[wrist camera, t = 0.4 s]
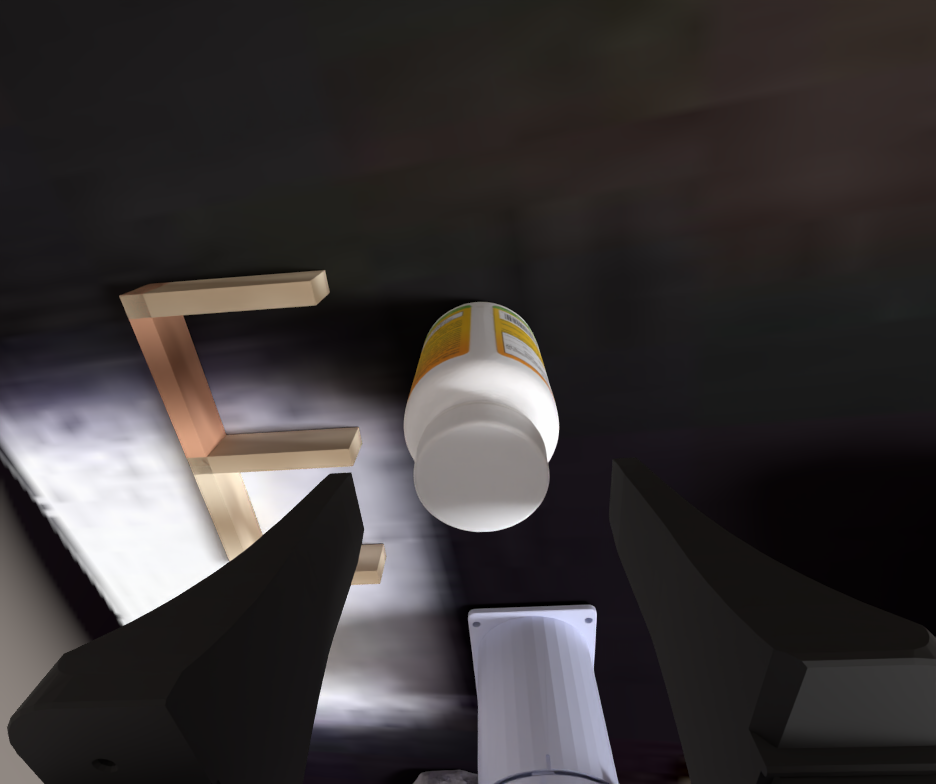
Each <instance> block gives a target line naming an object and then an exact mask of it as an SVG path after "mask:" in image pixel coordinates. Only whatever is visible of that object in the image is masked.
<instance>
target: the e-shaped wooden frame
mask: <svg viewBox="0 0 936 784" xmlns="http://www.w3.org/2000/svg"><path fill="white" fill-rule="evenodd" d="M329 293H330V291H329V287H328V282H327V277H326V273H325V270H320V271H307V272H294V273H281V274H269V275H256V276H243V277H231V278H218V279H205V280H193V281H180V282H167V283H154V284H148V285H145V286H143V287H140V288H138V289H135V290H133V291H130V292H128V293H125V294H123V295H120V296H119V297H120V299H121V302H122V304H123V306H124V309H125V311H126V314H127V316H128V318H129V321H130V323H131V326H132V328H133V330H134V333H135V335H136V338H137V340H138V342H139V345H140V347H141V350H142V352H143V354H144V357H145V359H146V362H147V364H148V366H149V369H150V371H151V374H152V376H153V378H154V381H155V383H156V386H157V388H158V390H159V393H160V395H161V398H162V400H163V402H164V405H165V407H166V410H167V412H168V414H169V417H170V419H171V422H172V424H173V426H174V429H175V431H176V434H177V436H178V438H179V441H180V443H181V446H182V448H183V450H184V453H185V455H186V458H187V460H188V462H189V465H190V467H191V470H192V472H193V474H194V477H195V479H196V482H197V484H198V486H199V489H200V491H201V494H202V496H203V499H204V501H205V503H206V506H207V508H208V511H209V513H210V515H211V518H212V520H213V523H214V525H215V527H216V530H217V532H218V535H219V537H220V539H221V542H222V544H223V547H224V549H225V551H226V554H227V556H228V559H229V561H231V560H233V559H234V558H235V557H237V556H238V555H239V554H241V553H242V552H243V551H245V550H246V549H247V548H248V547H250V546H251V545H252V544H253V543H254V542H256V541H257V540H258V539H259V538H260V537H261V536H263V535H262V532H261V529H260V527H259V524H258V521H257V518H256V515H255V513H254V510H253V507H252V504H251V502H250V499H249V496H248V493H247V491H246V488H245V485H244V482H243V480H242V477H241V474H240V472H255V471H273V470H292V469H310V468H328V467H346V466H353V465H354V462H355V460H356V457H357V455H358V452H359V450H360V448H361V445H362V441H361V436H360V431H359V427H353V428H336V429H319V430H302V431H285V432H269V433H252V434H235V435H226V433H225V430H224V427H223V424H222V422H221V419H220V416H219V413H218V411H217V408H216V405H215V402H214V399H213V397H212V394H211V391H210V388H209V386H208V383H207V380H206V377H205V375H204V372H203V369H202V366H201V364H200V361H199V358H198V355H197V352H196V350H195V347H194V344H193V341H192V339H191V336H190V333H189V330H188V328H187V325H186V322H185V319H184V317H183V315H193V314H207V313H220V312H234V311H247V310H260V309H274V308H287V307H301V306H314V305H317V304H318V303H319V302H320V301H321V300H322V299H323V298H324V297H326V296H327V295H328V294H329ZM385 560H386V553H385V548H384V544H373V545H361V550H360V555H359V560H358V564H357V567H356V570H355V574H354V577H353V580H352V583H351V585H360V584H380V582H381V577H382V573H383V569H384V564H385Z"/></svg>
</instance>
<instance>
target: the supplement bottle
mask: <svg viewBox="0 0 936 784" xmlns="http://www.w3.org/2000/svg"><path fill="white" fill-rule="evenodd" d="M558 434H559V419H558V413H557V408H556V404H555V400H554V397H553V394H552V391H551V387H550V384H549V381H548V378H547V374H546V371H545V367H544V364H543V361H542V358H541V354H540V351H539V348H538V345H537V342H536V339H535V337H534V335H533V333H532V331H531V329H530V328H529V326H528V325H527V323H526V322H525V321H524V320H523V319H522V318H521V317H520V316H519V315H518V314H516V313H515V312H513V311H512V310H510V309H508V308H506V307H504V306H501V305H498V304H495V303H490V302H472V303H467V304H463V305H460V306H458V307H456V308H454V309H452V310H450V311H448V312H447V313H445V314H444V315H443V316H441V317H440V318H439V319H438V320H437V321H436V322H435V324H434V325H433V326H432V328H431V329H430V331H429V333H428V335H427V337H426V340H425V343H424V346H423V349H422V353H421V356H420V360H419V363H418V367H417V370H416V374H415V377H414V381H413V384H412V387H411V391H410V394H409V398H408V401H407V405H406V410H405V416H404V435H405V440H406V444H407V447H408V449H409V452H410V454H411V456H412V457H413V459H414V461H415V465H414V485H415V489H416V492H417V495H418V497H419V499H420V501H421V502H422V504H423V505H424V506H425V508H426V509H427V510H428V511H429V512H430V513H431V514H432V515H433V516H435V517H436V518H437V519H439V520H441V521H442V522H444V523H446V524H448V525H450V526H453V527H456V528H458V529H462V530H466V531H474V532H490V531H497V530H501V529H505V528H508V527H511V526H513V525H515V524H517V523H519V522H521V521H523V520H524V519H526V518H527V517H528V516H530V515H531V514H532V513H533V512H534V511H535V510H536V509H537V508H538V506H539V505H540V504H541V502H542V501H543V499H544V497H545V495H546V492H547V489H548V485H549V466H548V462H549V460H550V459H551V457H552V455H553V453H554V450H555V447H556V444H557V440H558Z"/></svg>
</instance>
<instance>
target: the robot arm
mask: <svg viewBox="0 0 936 784" xmlns="http://www.w3.org/2000/svg"><path fill="white" fill-rule="evenodd" d="M609 520H610V524H611V528H612V532H613V536H614V540H615V544H616V547H617V551H618V554H619V557H620V559H621V562H622V564H623V567H624V569H625V572H626V574H627V577H628V579H629V582H630V584H631V587H632V589H633V592H634V594H635V597H636V599H637V602H638V604H639V607H640V609H641V612H642V614H643V617H644V619H645V622H646V624H647V627H648V630H649V632H650V635H651V638H652V641H653V644H654V647H655V650H656V654H657V657H658V661H659V664H660V667H661V671H662V674H663V678H664V681H665V685H666V688H667V692H668V696H669V699H670V703H671V707H672V710H673V714H674V718H675V721H676V725H677V729H678V733H679V737H680V740H681V744H682V748H683V752H684V756H685V760H686V764H687V768H688V772H689V776H690V780H691V784H936V638H935V637H934V636H933V635H932V634H931V633H930V632H929V631H928V630H927V629H926V628H925V627H924V626H923V625H920V624H917V623H915V622H912V621H910V620H907V619H905V618H902V617H899V616H897V615H894V614H892V613H889V612H886V611H884V610H881V609H879V608H876V607H874V606H871V605H868V604H866V603H863V602H861V601H859V600H856V599H854V598H852V597H849V596H847V595H845V594H843V593H841V592H838V591H836V590H834V589H832V588H829V587H827V586H825V585H823V584H821V583H819V582H817V581H815V580H813V579H810V578H808V577H806V576H804V575H802V574H800V573H798V572H797V571H795V570H793V569H791V568H789V567H787V566H785V565H783V564H781V563H780V562H778V561H776V560H774V559H772V558H770V557H769V556H767V555H765V554H763V553H762V552H760V551H758V550H757V549H755V548H753V547H752V546H750V545H749V544H747V543H745V542H744V541H742V540H741V539H739V538H737V537H736V536H734V535H733V534H731V533H730V532H728V531H727V530H725V529H724V528H722V527H721V526H719V525H718V524H717V523H715V522H714V521H713V520H711V519H710V518H708V517H707V516H706V515H704V514H703V513H701V512H700V511H699V510H698V509H696V508H695V507H694V506H692V505H691V504H690V503H689V502H687V501H686V500H685V499H684V498H682V497H681V496H680V495H679V494H677V493H676V492H675V491H674V490H673V489H671V488H670V487H669V486H668V485H667V484H666V483H664V482H663V481H662V480H661V479H660V478H659V477H657V476H656V475H655V474H654V473H653V472H652V471H651V470H650V469H648V468H647V467H646V466H645V465H644V464H643V463H642V462H640V461H639V460H638V459H637V458H621V459H613V465H612V480H611V495H610V510H609ZM363 533H364V526H363V522H362V517H361V513H360V509H359V504H358V500H357V496H356V491H355V487H354V483H353V478H352V474H351V473H335V474H329V475H328V476H327V477H326V478H325V479H323V480H322V481H321V482H320V483H319V484H318V485H317V486H316V487H315V488H314V489H313V490H312V491H311V492H310V493H309V494H308V495H307V496H306V497H305V498H304V499H303V500H302V501H300V502H299V503H298V504H297V505H296V506H295V507H294V508H293V509H292V510H291V511H290V512H289V513H288V514H287V515H286V516H284V517H283V518H282V519H281V520H280V521H279V522H278V523H277V524H275V525H274V526H273V527H272V528H271V529H270V530H268V531H267V532H266V533H265V534H264V535H263V536H261V537H260V538H259V539H258V540H257V541H256V542H254V543H253V544H252V545H251V546H250V547H248V548H247V549H246V550H245V551H243V552H242V553H241V554H239V555H238V556H237V557H235V558H234V559H233V560H231V561H230V562H228V563H227V564H226V565H224V566H223V567H222V568H220V569H219V570H217V571H216V572H214V573H213V574H212V575H210V576H208V577H207V578H205V579H204V580H202V581H201V582H199V583H197V584H196V585H194V586H193V587H191V588H190V589H188V590H186V591H185V592H183V593H182V594H180V595H179V596H177V597H175V598H174V599H172V600H170V601H168V602H167V603H165V604H163V605H161V606H160V607H158V608H156V609H154V610H153V611H151V612H149V613H147V614H145V615H143V616H141V617H140V618H138V619H136V620H134V621H132V622H130V623H128V624H126V625H124V626H122V627H120V628H118V629H117V630H114V631H112V632H110V633H108V634H106V635H104V636H102V637H99V638H97V639H95V640H93V641H91V642H89V643H87V644H85V645H82V646H80V647H78V648H76V649H74V650H72V651H69V652H67V653H65V654H63V656H62V657H61V658H60V659H59V660H58V662H57V663H56V664H55V665H54V666H53V668H52V669H51V670H50V671H49V672H48V674H47V675H46V676H45V677H44V678H43V679H42V681H41V682H40V683H39V684H38V686H37V687H36V688H35V689H34V690H33V692H32V693H31V694H30V695H29V697H27V699H26V700H25V701H24V702H23V703H22V705H21V706H20V707H19V708H18V709H17V711H16V712H15V713H14V714H13V715H12V717H11V718H10V721H9V724H8V727H7V729H8V735H9V740H10V743H11V745H12V746H13V748H14V749H15V751H16V752H17V754H18V755H19V756H20V757H21V758H22V759H23V760H24V761H25V763H26V764H27V765H28V766H29V767H30V768H31V769H32V770H33V771H34V772H35V774H36V775H37V776H38V777H39V778H40V779H41V780H42V782H43V783H44V784H303V778H304V773H305V767H306V762H307V756H308V750H309V745H310V739H311V734H312V729H313V724H314V719H315V714H316V709H317V704H318V699H319V694H320V690H321V685H322V681H323V677H324V672H325V668H326V663H327V659H328V654H329V651H330V647H331V644H332V640H333V637H334V634H335V631H336V628H337V625H338V622H339V619H340V616H341V613H342V610H343V607H344V604H345V601H346V598H347V595H348V592H349V589H350V586H351V583H352V580H353V577H354V574H355V570H356V567H357V564H358V560H359V555H360V550H361V545H362V539H363ZM596 620H597V613H596V609H595V607H594V606H592V605H563V606H537V607H510V608H483V609H472V610H470V611H469V613H468V623H469V631H470V640H471V648H472V656H473V665H474V673H475V681H476V690H477V698H478V784H618V779H617V775H616V770H615V766H614V761H613V756H612V752H611V747H610V743H609V738H608V734H607V729H606V725H605V720H604V716H603V711H602V707H601V702H600V697H599V693H598V688H597V684H596V679H595V675H594V654H595V637H596Z"/></svg>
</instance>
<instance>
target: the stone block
mask: <svg viewBox="0 0 936 784" xmlns="http://www.w3.org/2000/svg"><path fill="white" fill-rule="evenodd" d="M413 784H478V774H473V773H470V772H467V771H464V770H442V771H428V772H423V773H421V774H420V775H419V776H418V778H417V780H416V781H415V782H414V783H413Z"/></svg>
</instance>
